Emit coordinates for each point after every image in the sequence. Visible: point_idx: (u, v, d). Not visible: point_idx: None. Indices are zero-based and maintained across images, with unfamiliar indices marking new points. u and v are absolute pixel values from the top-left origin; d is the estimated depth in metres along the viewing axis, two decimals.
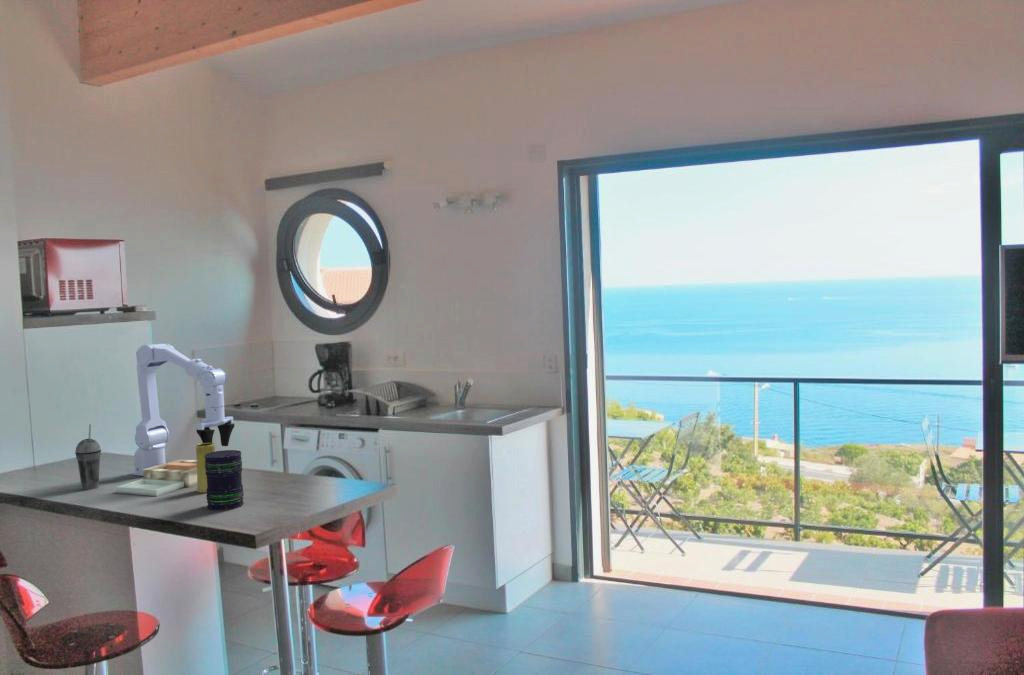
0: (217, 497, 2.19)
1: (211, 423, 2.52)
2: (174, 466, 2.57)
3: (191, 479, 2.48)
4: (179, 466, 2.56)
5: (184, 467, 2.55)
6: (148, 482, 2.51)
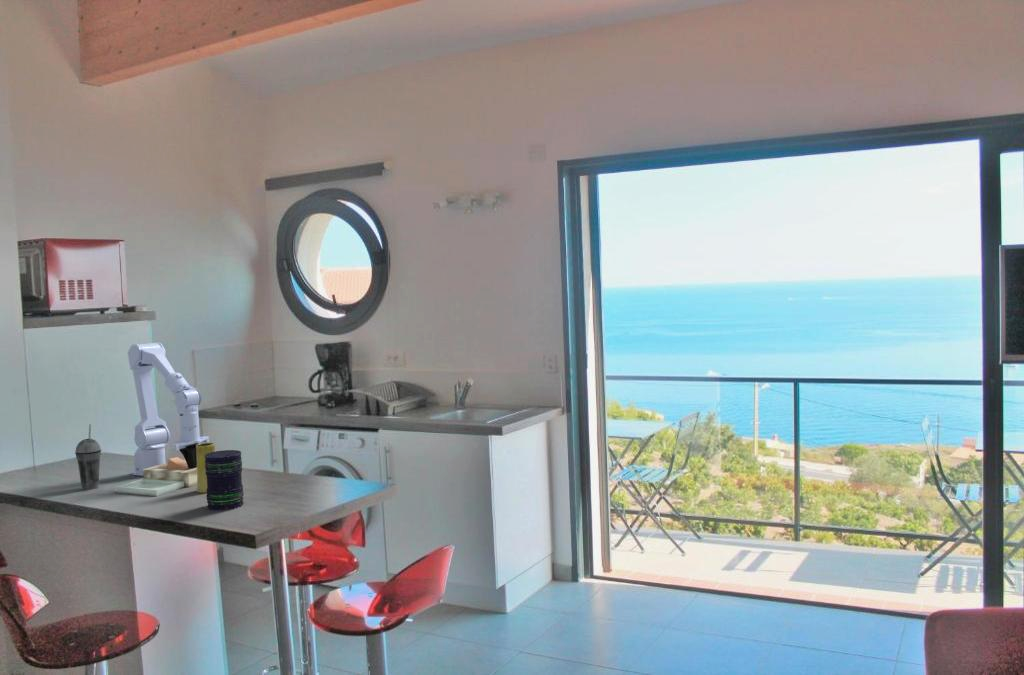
0: (217, 497, 2.19)
1: (186, 443, 2.52)
2: (176, 465, 2.56)
3: (191, 479, 2.48)
4: (181, 467, 2.56)
5: None
6: (148, 482, 2.51)
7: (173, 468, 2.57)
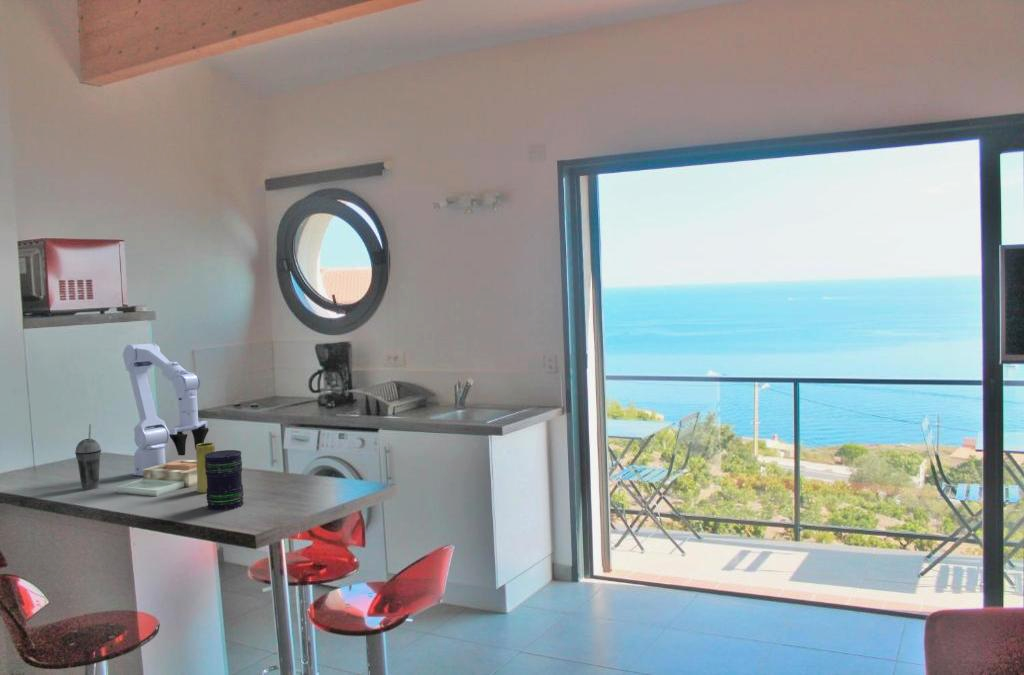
0: (217, 497, 2.19)
1: (184, 427, 2.52)
2: (173, 466, 2.57)
3: (191, 479, 2.48)
4: (178, 466, 2.56)
5: (183, 467, 2.55)
6: (148, 482, 2.51)
7: None
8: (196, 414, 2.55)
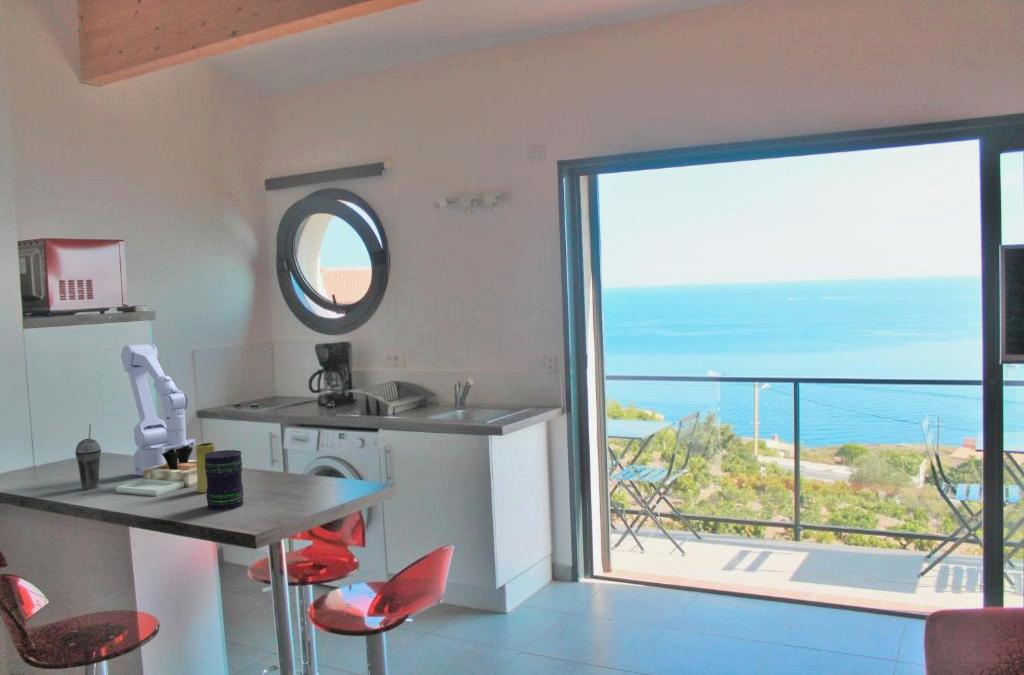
0: (217, 497, 2.19)
1: (172, 446, 2.54)
2: None
3: (191, 479, 2.48)
4: (179, 466, 2.56)
5: (184, 467, 2.55)
6: (148, 482, 2.51)
7: None
8: (184, 433, 2.57)
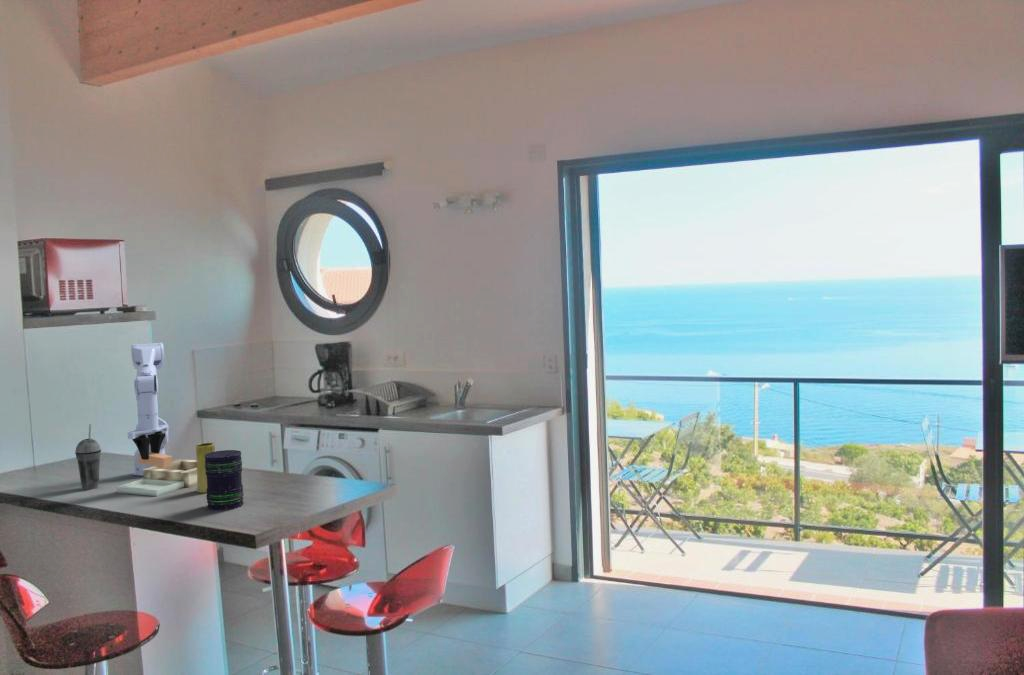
0: (217, 497, 2.19)
1: (143, 432, 2.42)
2: None
3: (191, 479, 2.48)
4: (152, 457, 2.44)
5: (157, 459, 2.43)
6: (148, 482, 2.51)
7: (145, 461, 2.45)
8: (156, 418, 2.46)
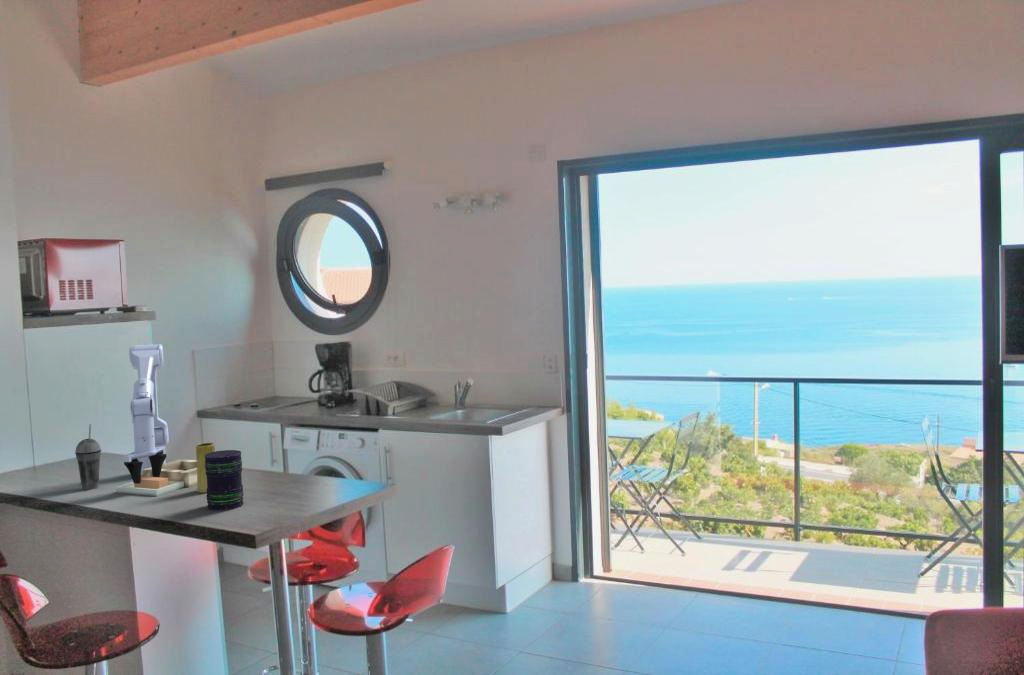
0: (217, 497, 2.19)
1: (139, 455, 2.40)
2: (143, 481, 2.44)
3: (191, 479, 2.48)
4: (148, 481, 2.43)
5: (153, 482, 2.42)
6: None
7: (141, 486, 2.44)
8: (152, 440, 2.44)
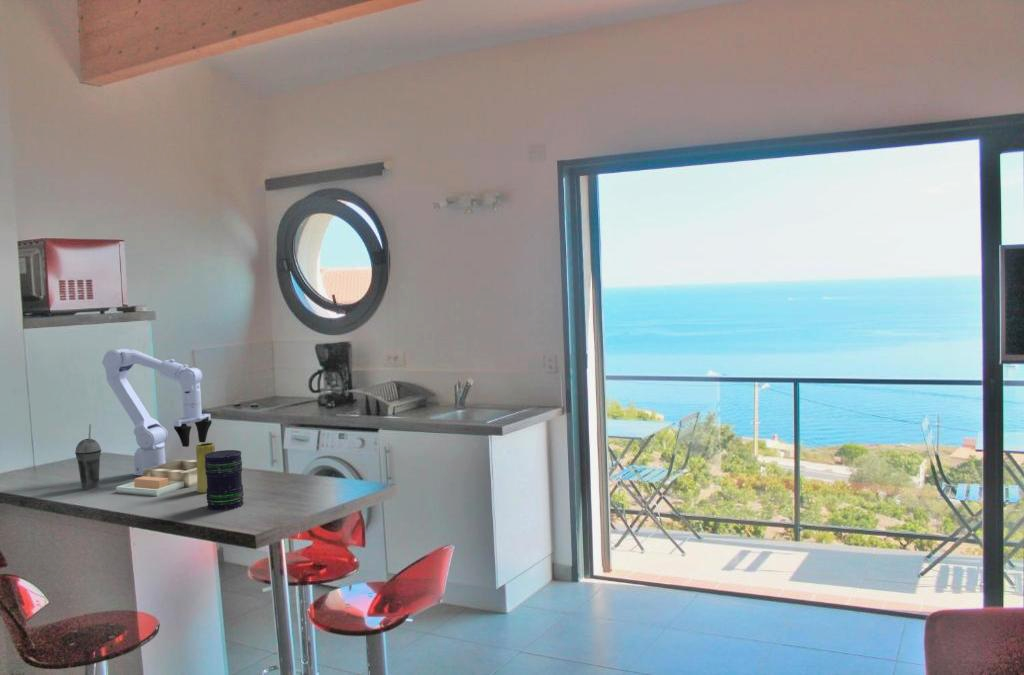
0: (217, 497, 2.19)
1: (188, 420, 2.61)
2: (143, 481, 2.44)
3: (191, 479, 2.48)
4: (148, 481, 2.43)
5: (153, 482, 2.42)
6: None
7: (141, 486, 2.44)
8: (199, 407, 2.64)
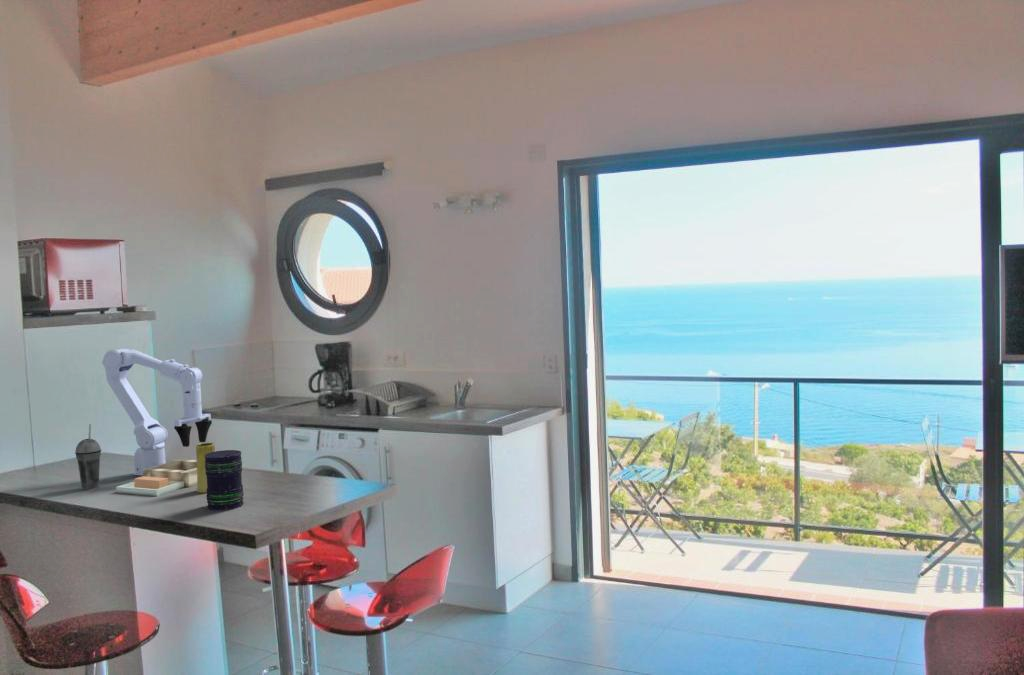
0: (217, 497, 2.19)
1: (188, 420, 2.61)
2: (143, 481, 2.44)
3: (191, 479, 2.48)
4: (148, 481, 2.43)
5: (153, 482, 2.42)
6: None
7: (141, 486, 2.44)
8: (200, 407, 2.65)
